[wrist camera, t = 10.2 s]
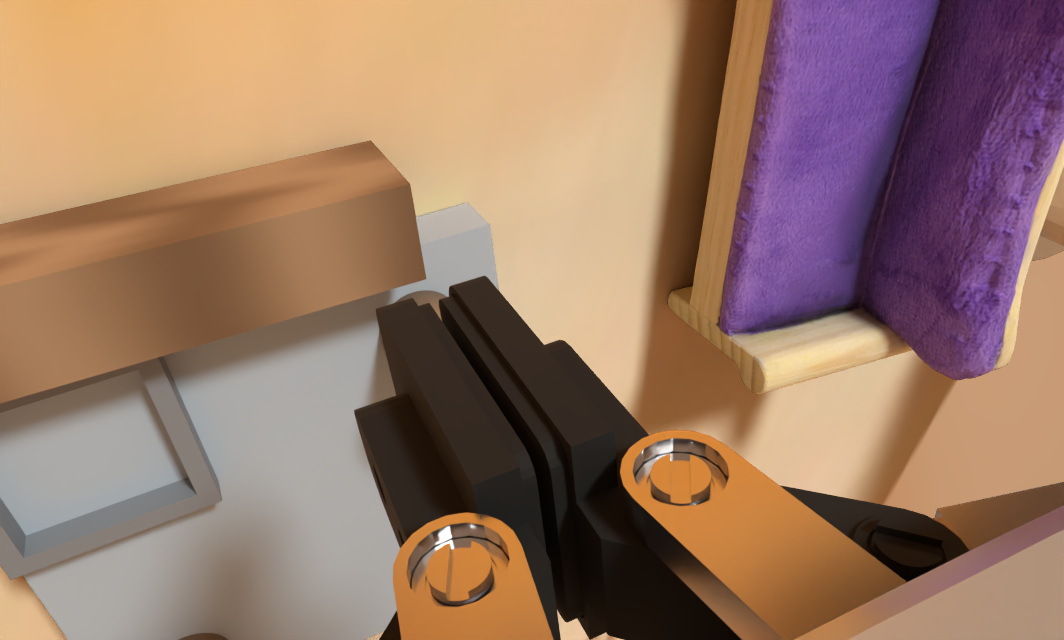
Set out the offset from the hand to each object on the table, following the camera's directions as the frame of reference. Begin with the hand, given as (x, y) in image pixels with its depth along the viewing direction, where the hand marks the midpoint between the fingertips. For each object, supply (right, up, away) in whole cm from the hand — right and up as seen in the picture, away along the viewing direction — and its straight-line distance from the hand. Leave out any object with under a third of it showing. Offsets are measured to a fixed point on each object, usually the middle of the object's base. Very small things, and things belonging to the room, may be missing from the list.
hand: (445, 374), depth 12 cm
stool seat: (-8, -5, +18) cm, 20 cm away
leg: (-11, +3, +11) cm, 16 cm away
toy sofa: (+11, +11, +19) cm, 25 cm away
